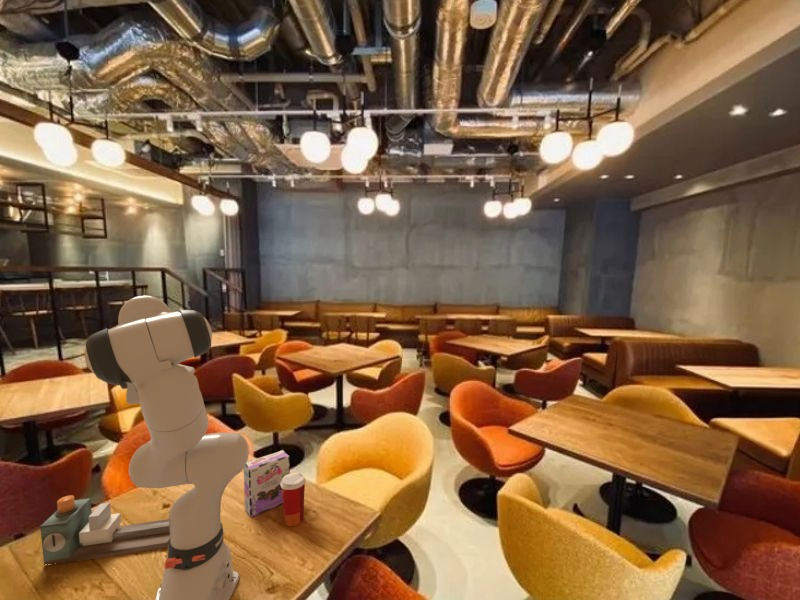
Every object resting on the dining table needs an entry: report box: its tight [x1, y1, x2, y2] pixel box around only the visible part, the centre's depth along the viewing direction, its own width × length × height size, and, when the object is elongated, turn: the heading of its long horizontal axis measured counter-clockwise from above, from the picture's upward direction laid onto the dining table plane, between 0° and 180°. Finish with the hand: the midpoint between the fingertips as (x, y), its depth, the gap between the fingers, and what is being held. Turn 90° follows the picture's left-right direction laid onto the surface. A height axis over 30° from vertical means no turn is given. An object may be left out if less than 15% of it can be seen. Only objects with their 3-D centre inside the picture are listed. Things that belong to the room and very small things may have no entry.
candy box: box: [243, 449, 291, 518], centre depth 125 cm, size 14×6×16 cm, turn 129°
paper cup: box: [280, 472, 307, 527], centre depth 117 cm, size 8×8×14 cm
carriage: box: [79, 502, 122, 546], centre depth 108 cm, size 7×7×9 cm
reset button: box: [56, 494, 76, 513], centre depth 105 cm, size 4×4×3 cm
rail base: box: [39, 497, 170, 566], centre depth 108 cm, size 12×30×12 cm, turn 103°
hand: (165, 414), depth 120 cm, fingers open, 8 cm apart
